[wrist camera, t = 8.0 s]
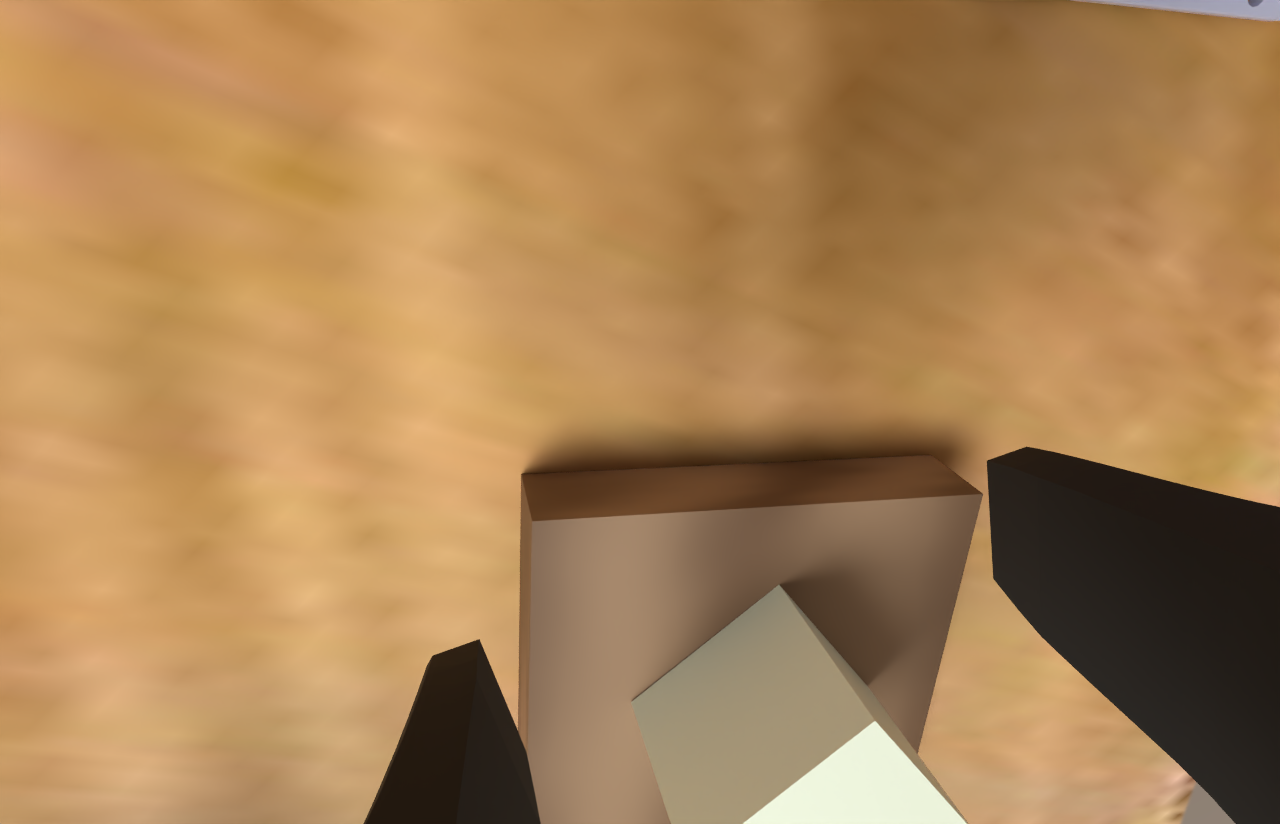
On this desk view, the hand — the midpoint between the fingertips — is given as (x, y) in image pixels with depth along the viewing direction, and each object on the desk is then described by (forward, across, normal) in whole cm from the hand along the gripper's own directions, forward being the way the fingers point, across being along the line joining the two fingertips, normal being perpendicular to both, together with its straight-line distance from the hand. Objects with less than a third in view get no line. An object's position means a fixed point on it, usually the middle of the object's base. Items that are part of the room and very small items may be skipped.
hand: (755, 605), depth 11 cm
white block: (+8, -1, +10) cm, 13 cm away
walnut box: (+11, -1, +10) cm, 15 cm away
